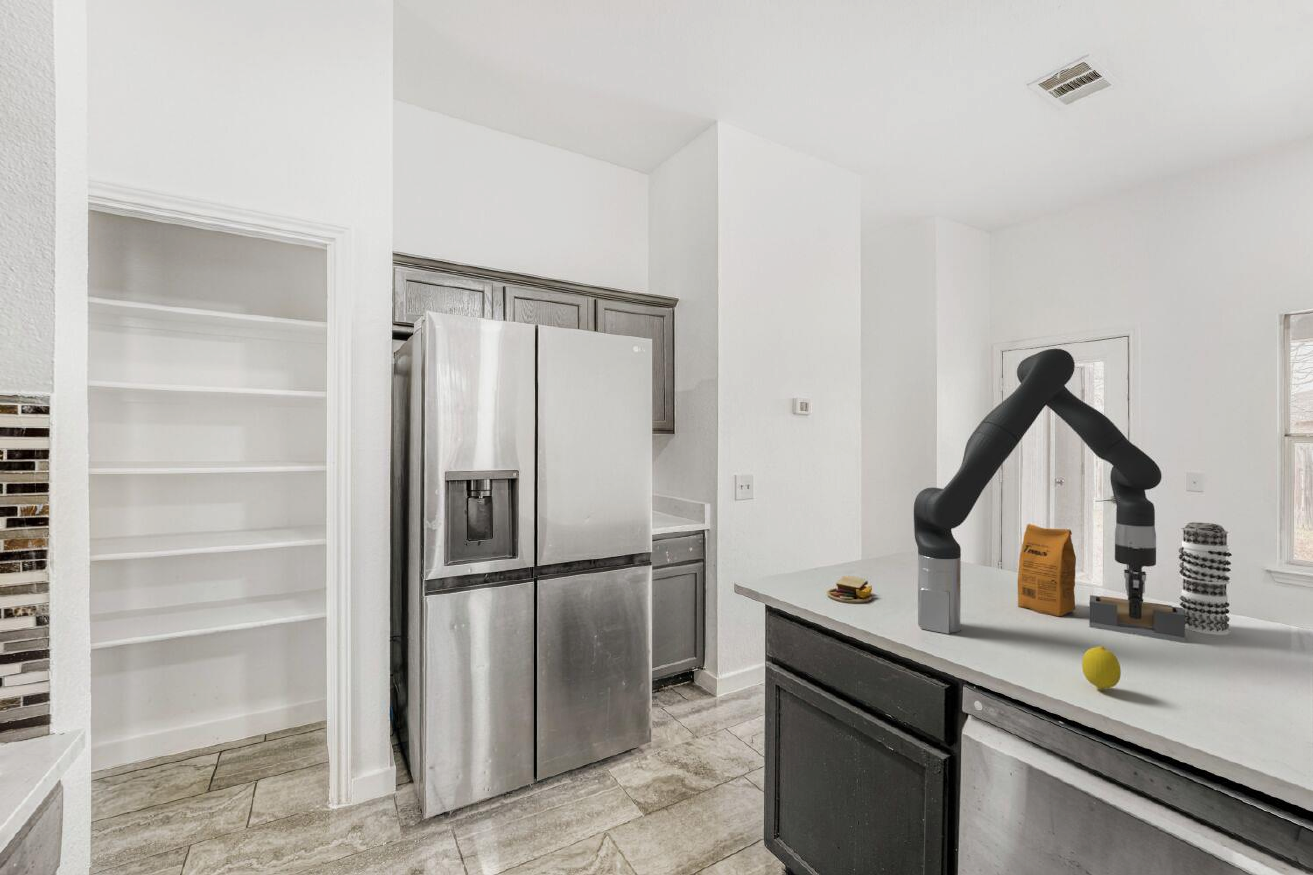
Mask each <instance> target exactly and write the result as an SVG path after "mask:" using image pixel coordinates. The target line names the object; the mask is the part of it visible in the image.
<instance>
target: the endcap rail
mask: <svg viewBox="0 0 1313 875" xmlns="http://www.w3.org/2000/svg"><path fill="white" fill-rule="evenodd" d="M1100 598H1101V595H1100V596H1099V595H1094V594H1093V595H1091V594H1090V596H1089V614H1088V615H1089V624H1088V625H1089V627H1088V628H1093V627H1096V628H1095V629H1099V628H1100V630H1105V629H1106V631H1111V630H1112V632H1117V631H1118V632H1117V633H1123V632H1127V633H1126V634H1129V633H1132V634H1131V635H1135V634H1137V636H1141V635H1142V637H1147V636H1148V638H1154V639H1160V640H1165V639H1166V641H1171V642H1179V643H1183V644H1185V643H1186V629H1185V614H1184V611H1183V607H1180V606H1179V607H1178V606H1172V608H1173V612H1168V611H1161V610H1154V628H1152V627H1146V626H1139V625H1133V624H1126V623H1120V622H1117V604H1112V603H1105V602H1100Z"/></svg>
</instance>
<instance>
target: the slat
mask: <svg viewBox="0 0 1313 875" xmlns="http://www.w3.org/2000/svg"><path fill="white" fill-rule="evenodd" d="M1100 597H1101V598H1100V602H1105V603H1112V604H1117V622H1120V623H1126V624H1133V625H1139V626H1146V627H1152V628H1154V610H1161V611H1168V612H1173V608H1172V607H1173V606H1172V605H1169V604H1162V603H1155V602H1148V601H1143V602H1142V604H1141V619H1134V618H1130V617H1129V600H1128V598H1127V599H1126V598H1125V599H1124V598H1118V597H1111V596H1110V597H1109V596H1103V595H1100Z"/></svg>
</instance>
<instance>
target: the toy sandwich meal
mask: <svg viewBox="0 0 1313 875" xmlns="http://www.w3.org/2000/svg"><path fill="white" fill-rule="evenodd" d="M835 584H836V587H835V588H831V589H828V590H827V591H826V595H827V596H828V597H829V598H830V599H831V600H835V601H837V602H841V603H847V604H863V603H868V602H870V601H871V600H872V599H873V597H874V595H873V594H872V588H873V585H868V584H869V581H868V579H865V578H862V577H858V576H854V575H853V576H850V575H842V577H841V578H840V579H839V580H838V581H837V582H836V583H835ZM866 585H868V586H866Z"/></svg>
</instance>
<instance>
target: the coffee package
mask: <svg viewBox="0 0 1313 875" xmlns="http://www.w3.org/2000/svg"><path fill="white" fill-rule="evenodd" d="M1072 534H1073V533H1072V530H1071V529H1066V528H1044V527H1040V526H1037V525H1034V524H1030V523H1027V525H1026V528H1025V532H1024V534H1023V540H1022V544H1021V550H1020V553H1019V559H1018V560H1019V562H1018V573H1017V607H1018V608H1025V609H1029V610H1032V611H1035V612H1037V613H1039V614H1045V615H1050V616H1056V617H1062V616H1064V615H1066V614H1069V613H1072V612H1074V611H1076V597H1075V586H1076V564H1077V557H1076V553H1075V550H1074V545H1073V541H1072Z"/></svg>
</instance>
